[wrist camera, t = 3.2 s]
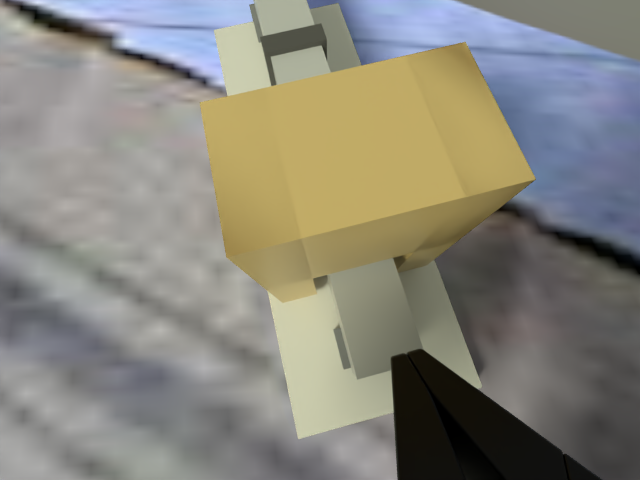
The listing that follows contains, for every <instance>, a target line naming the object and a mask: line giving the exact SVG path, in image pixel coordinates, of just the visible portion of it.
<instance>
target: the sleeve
mask: <svg viewBox="0 0 640 480" xmlns="http://www.w3.org/2000/svg"><path fill="white" fill-rule="evenodd" d="M200 107H201V113H202V119H203V124H204V130H205V136H206V142H207V148H208V153H209V159H210V165H211V171H212V176H213V182H214V188H215V194H216V200H217V205H218V211H219V217H220V223H221V228H222V234H223V240H224V246H225V252H226V257H227V258H228V259H229V260H230V261H232V262H233V263H234V264H235V265H236V266H238V267H239V268H240V269H241V270H243V271H244V272H245V273H246V274H248V275H249V276H250V277H251V278H252V279H254V280H255V281H256V282H257V283H259V284H260V285H261V286H262V287H264V288H265V289H266V290H267V291H268V292H270V293H271V294H272V295H273V296H275V297H276V298H277V299H278V300H279V301H281V302H282V303H285V302H289V301H292V300H296V299H300V298H304V297H308V296H312V295H315V294H317V292H316V288H315V284H314V280H313V278H317V277H320V276H324V275H328V274H332V273H336V272H340V271H344V270H347V269H351V268H355V267H359V266H363V265H367V264H371V263H375V262H378V261H382V260H386V259H390V258H393V260H394V263H395V266H396V269H397V272H398V273H400V272H403V271H407V270H411V269H415V268H419V267H423V266H426V265H428V264H429V263H430V262H432V261H433V260H434V259H435V258H437V257H438V256H439V255H440V254H442V253H443V252H444V251H446V250H447V249H448V248H449V247H451V246H452V245H453V244H454V243H456V242H457V241H458V240H460V239H461V238H462V237H463V236H465V235H466V234H467V233H468V232H470V231H471V230H472V229H474V228H475V227H476V226H477V225H479V224H480V223H481V222H482V221H484V220H485V219H486V218H487V217H489V216H490V215H491V214H493V213H494V212H495V211H496V210H498V209H499V208H500V207H501V206H503V205H504V204H505V203H507V202H508V201H509V200H510V199H512V198H513V197H514V196H515V195H517V194H518V193H519V192H521V191H522V190H523V189H524V188H526V187H527V186H528V185H529V184H531V183H532V182H533V181H534V180H536V178H535V176H534V174H533V173H532V171H531V169H530V167H529V165H528V163H527V161H526V159H525V157H524V155H523V153H522V151H521V149H520V147H519V145H518V143H517V141H516V139H515V138H514V136H513V134H512V132H511V130H510V128H509V126H508V124H507V122H506V120H505V118H504V116H503V114H502V112H501V110H500V108H499V106H498V104H497V102H496V101H495V99H494V97H493V95H492V93H491V91H490V89H489V87H488V85H487V83H486V81H485V79H484V77H483V75H482V73H481V71H480V69H479V67H478V66H477V64H476V62H475V60H474V58H473V56H472V54H471V52H470V50H469V48H468V46H467V44H466V42H463V43H458V44H454V45H450V46H445V47H441V48H437V49H432V50H428V51H423V52H419V53H415V54H410V55H406V56H402V57H397V58H393V59H388V60H384V61H380V62H375V63H371V64H366V65H362V66H358V67H353V68H349V69H345V70H340V71H336V72H331V73H327V74H323V75H318V76H314V77H310V78H305V79H301V80H296V81H292V82H288V83H283V84H279V85H275V86H270V87H266V88H261V89H257V90H253V91H248V92H244V93H240V94H235V95H231V96H226V97H222V98H218V99H213V100H209V101H204V102H200Z"/></svg>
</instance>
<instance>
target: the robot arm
mask: <svg viewBox="0 0 640 480" xmlns="http://www.w3.org/2000/svg"><path fill="white" fill-rule="evenodd" d="M390 361H391V378H392V394H393V411H394V428H395V444H396V461H397V477H398V480H602V479H600V478H599V477H598V476H596V475H595V474H593V473H592V472H591V471H589V470H588V469H586V468H585V467H584V466H582V465H581V464H579V463H578V462H577V461H575V460H574V459H573V458H571V457H570V456H569V455H567V454H563V452H562V451H561V450H560V449H559V448H557V447H556V446H555V445H553V444H552V443H551V442H549V441H548V440H546V439H545V438H544V437H542V436H541V435H540V434H538V433H537V432H535V431H534V430H533V429H531V428H530V427H529V426H527V425H526V424H525V423H523V422H522V421H520V420H519V419H518V418H516V417H515V416H514V415H512V414H511V413H509V412H508V411H507V410H505V409H504V408H503V407H501V406H500V405H499V404H497V403H496V402H494V401H493V400H492V399H490V398H489V397H488V396H486V395H485V394H483V393H482V392H481V391H479V390H478V389H477V388H475V387H474V386H473V385H471V384H470V383H468V382H467V381H466V380H464V379H463V378H462V377H460V376H459V375H457V374H456V373H455V372H453V371H452V370H451V369H449V368H448V367H447V366H445V365H444V364H442V363H441V362H440V361H438V360H437V359H436V358H434V357H433V356H431V355H430V354H429V353H427V352H426V351H425V350H423V349H416V350H412V351H408V352H407V353H406V354H405V353H401V354H397V355H394V356H391V358H390Z"/></svg>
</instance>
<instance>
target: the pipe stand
mask: <svg viewBox="0 0 640 480" xmlns="http://www.w3.org/2000/svg"><path fill="white" fill-rule="evenodd" d="M253 1H254V4H250V5H249V6H250V10H251V14H252V18H253V22H249V23H244V24H240V25H235V26H230V27H226V28H221V29H217V30H214V33H215V38H216V43H217V48H218V52H219V57H220V62H221V67H222V72H223V77H224V81H225V86H226V91H227V96H231V95H235V94H240V93H244V92H248V91H253V90H257V89H261V88H266V87H270V86H275V85H279V84H283V83H288V82H292V81H296V80H301V79H305V78H310V77H314V76H318V75H323V74H327V73H331V72H336V71H340V70H345V69H349V68H353V67H358V66H362V65H361V62H360V60H359V57H358V54H357V52H356V49H355V46H354V44H353V41H352V38H351V36H350V33H349V30H348V28H347V25H346V22H345V20H344V17H343V14H342V12H341V9H340V6H339V4H338V3H336V4H331V5H327V6H322V7H318V8H313V9H309V6H308V3H307V0H253ZM313 280H314V284H315V288H316V292H317V294H315V295H312V296H308V297H304V298H300V299H296V300H292V301H289V302H285V303H282V302H281V301H279V300H278V299H277V298H276V297H275V296H273V295H272V294H271V293H270V292H268V294H269V299H270V304H271V309H272V314H273V319H274V324H275V328H276V333H277V338H278V343H279V348H280V353H281V357H282V362H283V367H284V372H285V377H286V382H287V386H288V391H289V396H290V401H291V406H292V411H293V415H294V420H295V425H296V430H297V435H298V439H301V438H304V437H308V436H311V435H315V434H318V433H322V432H325V431H329V430H332V429H336V428H340V427H343V426H347V425H350V424H354V423H357V422H361V421H364V420H368V419H371V418H375V417H378V416H382V415H386V414H389V413H393V412H394V411H393V394H392V378H391V361H390V358H391V356H394V355H397V354H401V353H405V354H406V353H407V352H408V351H412V350H416V349H423V350H425V351H426V352H427V353H429V354H430V355H431V356H433V357H434V358H436V359H437V360H438V361H440V362H441V363H442V364H444V365H445V366H447V367H448V368H449V369H451V370H452V371H453V372H455V373H456V374H457V375H459V376H460V377H462V378H463V379H464V380H466V381H467V382H468V383H470V384H471V385H473V386H474V387H475V388H477V389H478V388H481V387H482V385H481V382H480V379H479V377H478V374H477V371H476V369H475V366H474V363H473V361H472V358H471V355H470V353H469V350H468V347H467V345H466V342H465V339H464V337H463V334H462V331H461V329H460V326H459V323H458V321H457V318H456V315H455V313H454V310H453V307H452V305H451V302H450V299H449V297H448V294H447V291H446V289H445V286H444V283H443V281H442V278H441V275H440V273H439V270H438V267H437V265H436V262H435V259H434V260H433V261H432V262H430V263H429V264H428V265H426V266H423V267H419V268H415V269H411V270H407V271H403V272H400V273H398V272H397V269H396V266H395V263H394V260H393V258H390V259H386V260H382V261H378V262H375V263H371V264H367V265H363V266H359V267H355V268H351V269H347V270H344V271H340V272H336V273H332V274H328V275H324V276H320V277H317V278H313Z"/></svg>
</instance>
